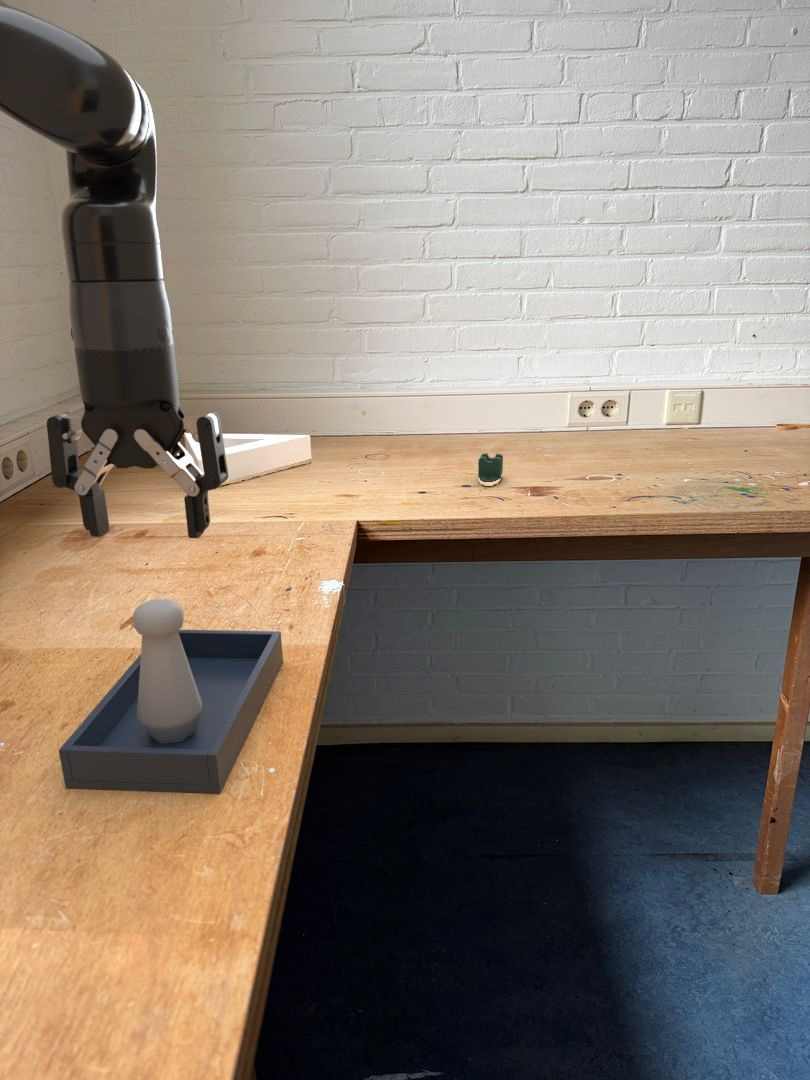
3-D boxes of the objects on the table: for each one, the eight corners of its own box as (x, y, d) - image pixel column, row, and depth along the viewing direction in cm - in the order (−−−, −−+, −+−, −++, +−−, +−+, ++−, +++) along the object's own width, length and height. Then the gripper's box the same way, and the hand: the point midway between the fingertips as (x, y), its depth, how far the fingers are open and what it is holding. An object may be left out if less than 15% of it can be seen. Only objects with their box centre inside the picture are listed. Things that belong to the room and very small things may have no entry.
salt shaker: (161, 757, 71) (143, 624, 67) (128, 733, 75) (109, 606, 70) (217, 729, 75) (203, 602, 71) (183, 708, 79) (167, 586, 75)
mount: (498, 487, 157) (498, 462, 156) (475, 486, 158) (476, 461, 157) (504, 473, 167) (504, 450, 166) (483, 472, 168) (483, 449, 167)
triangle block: (311, 463, 180) (310, 435, 178) (273, 494, 156) (271, 462, 154) (187, 459, 185) (184, 432, 183) (131, 489, 161) (127, 459, 159)
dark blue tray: (65, 788, 68) (58, 750, 67) (165, 659, 91) (161, 629, 89) (220, 793, 67) (215, 755, 66) (283, 661, 89) (280, 631, 88)
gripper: (226, 336, 66) (241, 523, 71) (61, 337, 67) (88, 521, 73) (196, 345, 59) (215, 551, 64) (12, 346, 60) (46, 548, 65)
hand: (148, 535), depth 68 cm, fingers open, 8 cm apart
